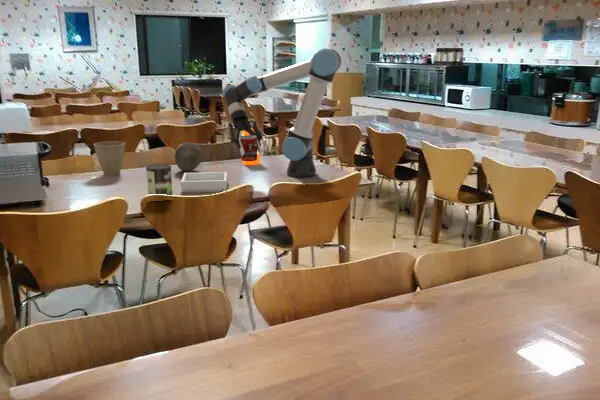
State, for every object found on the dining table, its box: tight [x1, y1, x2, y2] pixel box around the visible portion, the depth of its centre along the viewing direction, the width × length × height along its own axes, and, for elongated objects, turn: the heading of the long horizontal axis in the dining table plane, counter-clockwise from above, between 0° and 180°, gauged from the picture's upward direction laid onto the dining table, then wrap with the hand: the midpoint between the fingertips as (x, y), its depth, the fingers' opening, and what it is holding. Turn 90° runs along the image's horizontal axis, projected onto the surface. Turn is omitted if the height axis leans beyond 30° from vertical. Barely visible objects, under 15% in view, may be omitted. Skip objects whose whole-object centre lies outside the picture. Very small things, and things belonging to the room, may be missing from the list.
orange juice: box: [241, 127, 261, 166], centre depth 298 cm, size 8×9×20 cm
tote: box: [180, 171, 228, 193], centre depth 248 cm, size 20×18×5 cm
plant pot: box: [93, 140, 126, 177], centre depth 271 cm, size 15×15×16 cm
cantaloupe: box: [174, 142, 202, 173], centre depth 278 cm, size 14×14×15 cm
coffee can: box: [145, 163, 173, 195], centre depth 228 cm, size 10×10×14 cm
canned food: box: [239, 135, 257, 162], centre depth 248 cm, size 8×8×11 cm
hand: (251, 152), depth 245 cm, fingers closed on canned food, 8 cm apart
